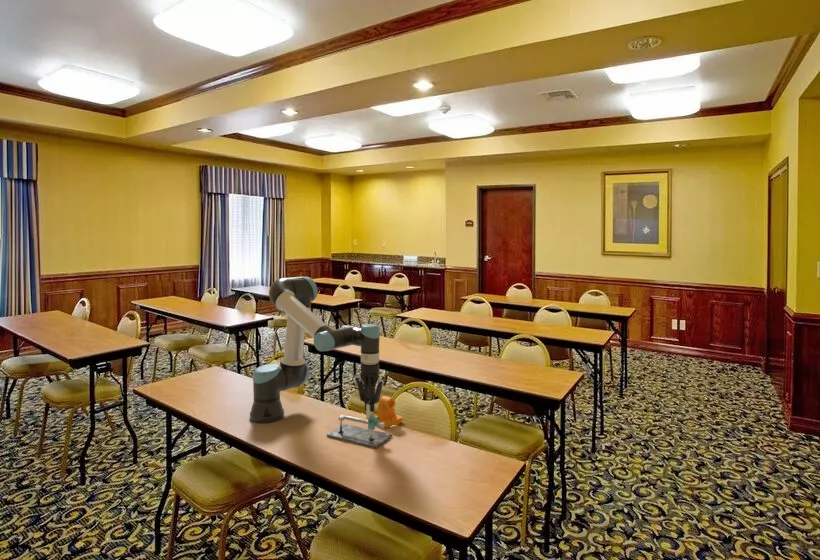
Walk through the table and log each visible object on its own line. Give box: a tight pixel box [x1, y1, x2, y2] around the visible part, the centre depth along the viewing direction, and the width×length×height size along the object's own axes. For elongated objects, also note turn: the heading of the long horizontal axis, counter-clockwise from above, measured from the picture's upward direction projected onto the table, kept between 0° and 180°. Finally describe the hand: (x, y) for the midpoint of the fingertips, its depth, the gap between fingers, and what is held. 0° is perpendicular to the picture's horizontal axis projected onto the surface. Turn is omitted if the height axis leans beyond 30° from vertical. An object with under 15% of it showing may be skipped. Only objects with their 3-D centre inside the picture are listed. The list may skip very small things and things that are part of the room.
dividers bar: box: [338, 414, 385, 433], centre depth 197 cm, size 21×3×7 cm, turn 63°
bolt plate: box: [326, 423, 393, 450], centre depth 199 cm, size 24×13×1 cm, turn 63°
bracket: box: [375, 395, 403, 428], centre depth 213 cm, size 11×7×12 cm, turn 135°
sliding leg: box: [367, 413, 379, 439], centre depth 195 cm, size 2×4×9 cm, turn 153°
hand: (369, 418), depth 196 cm, fingers closed
